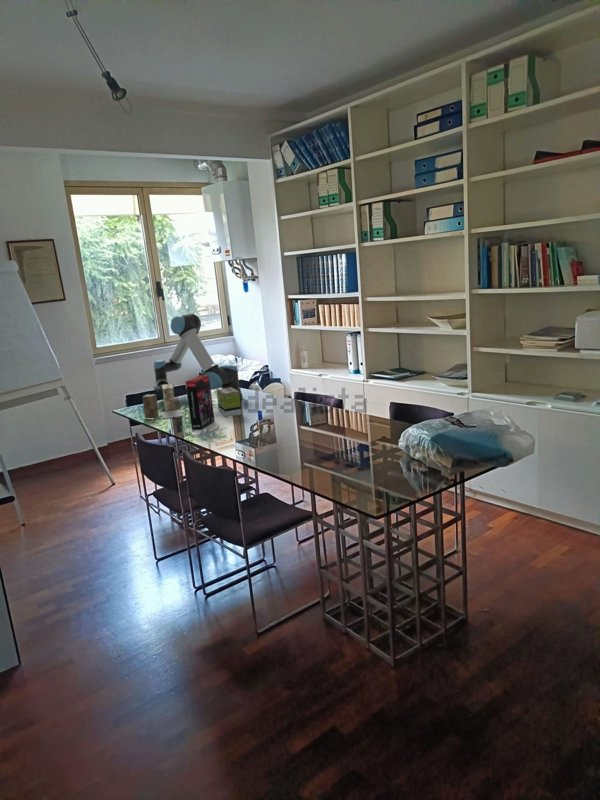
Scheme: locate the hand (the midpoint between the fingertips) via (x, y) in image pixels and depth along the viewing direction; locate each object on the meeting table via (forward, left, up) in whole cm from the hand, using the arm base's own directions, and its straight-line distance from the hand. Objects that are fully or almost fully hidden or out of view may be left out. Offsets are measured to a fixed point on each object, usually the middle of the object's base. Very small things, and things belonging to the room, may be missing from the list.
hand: (165, 391), depth 369 cm
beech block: (-1, 0, -11) cm, 11 cm away
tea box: (-45, +11, -12) cm, 48 cm away
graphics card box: (-38, +37, -12) cm, 55 cm away
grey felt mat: (-8, +11, -12) cm, 18 cm away
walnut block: (+2, +19, -12) cm, 22 cm away
